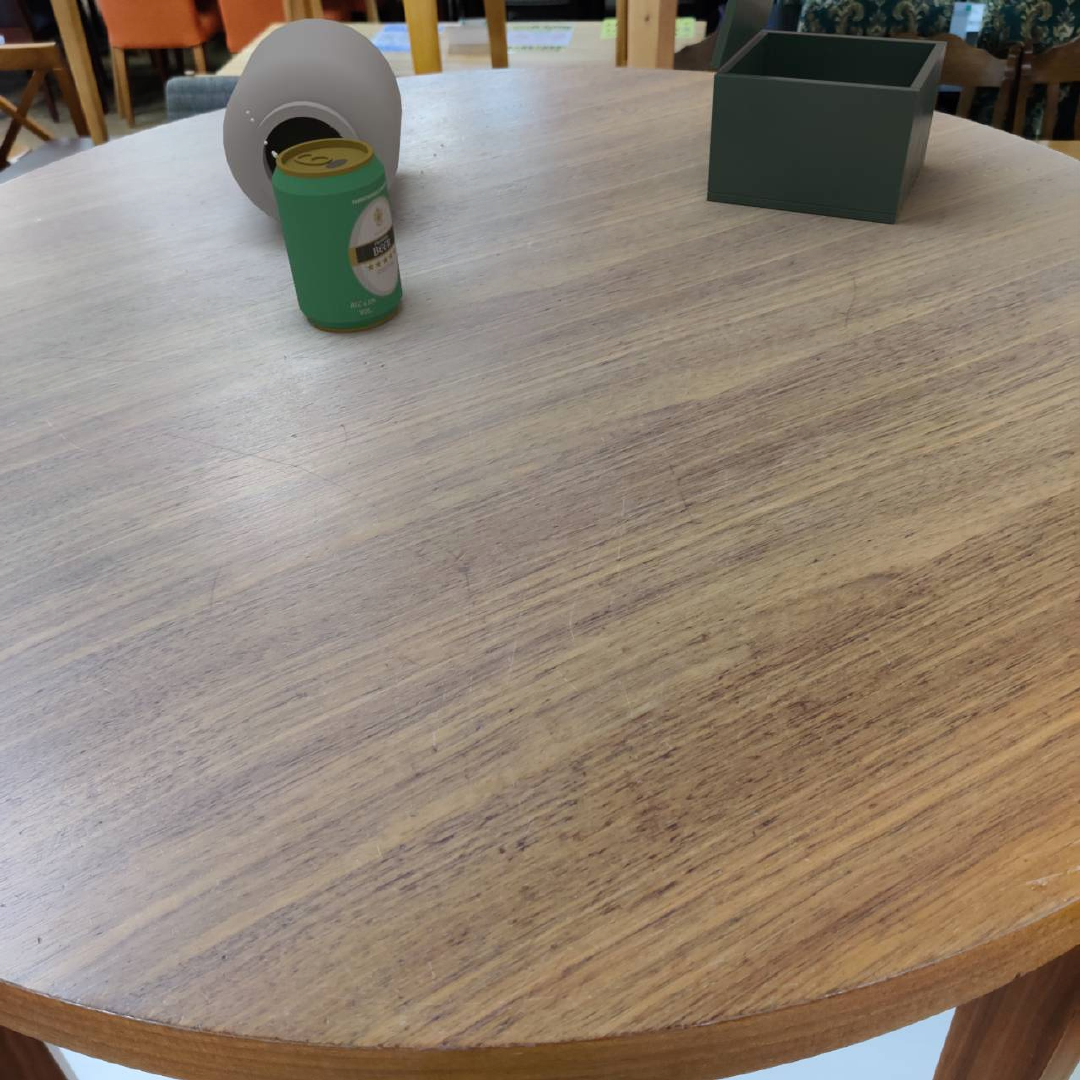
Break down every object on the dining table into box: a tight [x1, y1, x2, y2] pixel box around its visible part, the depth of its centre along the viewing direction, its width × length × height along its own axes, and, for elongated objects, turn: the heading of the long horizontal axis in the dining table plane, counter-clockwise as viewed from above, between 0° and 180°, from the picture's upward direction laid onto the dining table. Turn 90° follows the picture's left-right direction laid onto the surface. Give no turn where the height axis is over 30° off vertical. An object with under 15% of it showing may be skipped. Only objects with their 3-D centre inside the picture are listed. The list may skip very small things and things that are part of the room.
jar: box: [222, 17, 445, 222], centre depth 88 cm, size 19×15×25 cm
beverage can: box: [272, 138, 404, 333], centre depth 75 cm, size 8×8×12 cm
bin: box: [706, 29, 948, 225], centre depth 91 cm, size 17×15×11 cm
